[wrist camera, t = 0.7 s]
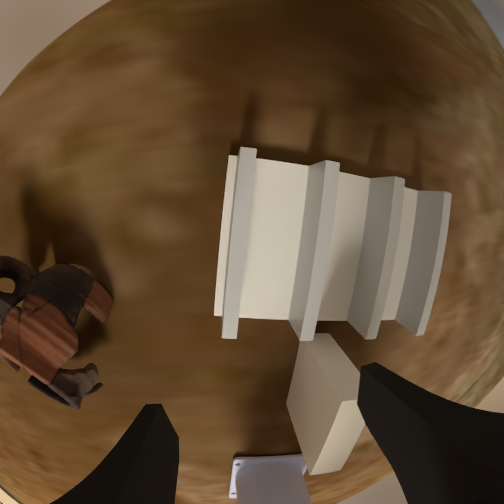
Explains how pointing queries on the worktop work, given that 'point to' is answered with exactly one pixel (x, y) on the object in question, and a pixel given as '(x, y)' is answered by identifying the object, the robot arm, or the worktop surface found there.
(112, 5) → the worktop surface
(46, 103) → the worktop surface
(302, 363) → the beige rectangular block
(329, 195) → the dish rack
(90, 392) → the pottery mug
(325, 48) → the worktop surface
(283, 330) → the worktop surface
